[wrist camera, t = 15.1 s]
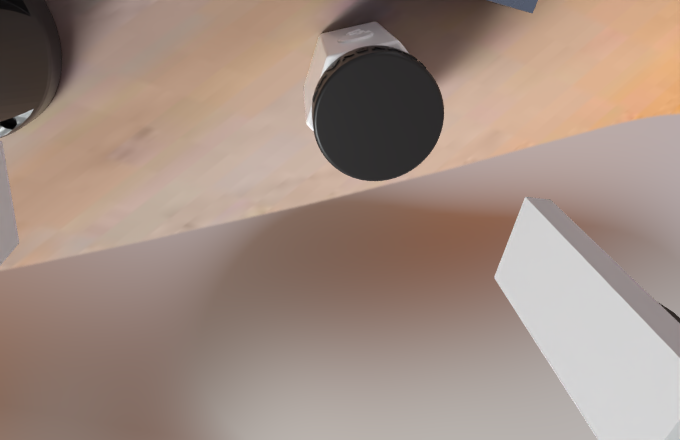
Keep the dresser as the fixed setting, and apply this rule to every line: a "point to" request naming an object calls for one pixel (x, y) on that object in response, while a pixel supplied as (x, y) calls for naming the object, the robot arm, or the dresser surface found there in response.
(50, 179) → the dresser surface
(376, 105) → the jar
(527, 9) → the bin
